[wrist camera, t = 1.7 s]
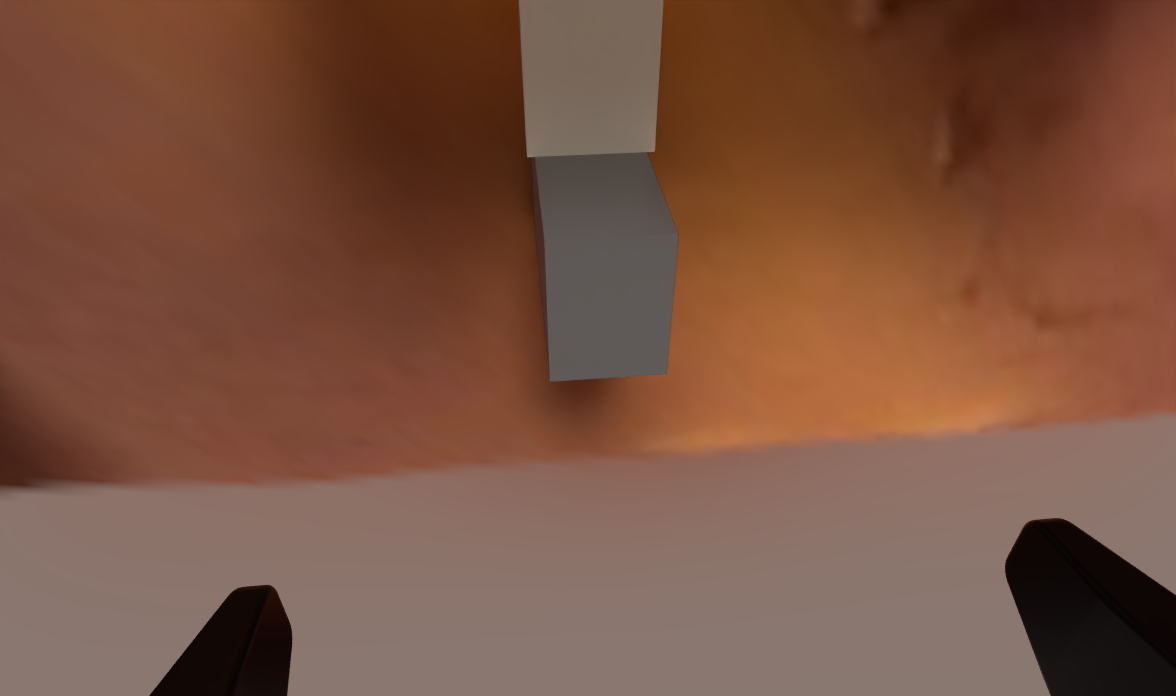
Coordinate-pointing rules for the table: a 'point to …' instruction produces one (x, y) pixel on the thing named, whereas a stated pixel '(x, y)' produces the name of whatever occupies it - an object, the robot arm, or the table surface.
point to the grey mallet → (598, 185)
